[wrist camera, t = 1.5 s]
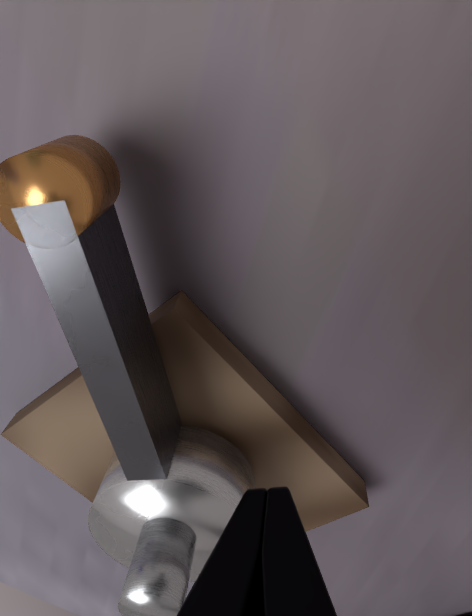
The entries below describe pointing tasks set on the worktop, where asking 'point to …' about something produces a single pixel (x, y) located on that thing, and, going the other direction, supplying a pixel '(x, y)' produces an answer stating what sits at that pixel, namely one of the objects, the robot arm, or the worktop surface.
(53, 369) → the worktop surface
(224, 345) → the block
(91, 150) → the amber-knobbed lever
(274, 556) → the robot arm
